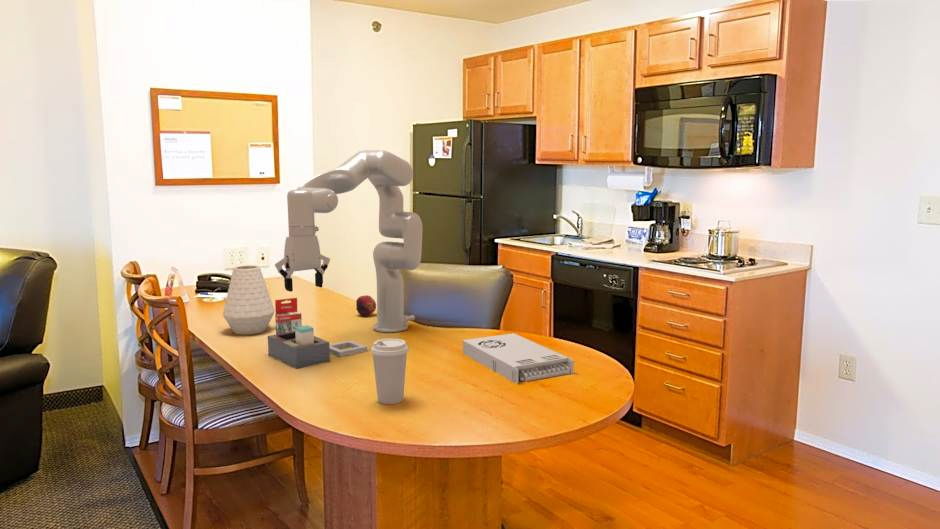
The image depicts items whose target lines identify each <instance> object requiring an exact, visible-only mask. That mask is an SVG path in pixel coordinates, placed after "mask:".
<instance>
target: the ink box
mask: <svg viewBox="0 0 940 529" xmlns="http://www.w3.org/2000/svg"><path fill="white" fill-rule="evenodd" d="M286 301H287V302H286ZM283 302H284V303H283ZM274 304H275V305H274V306H275V308H274V310H275V313H274V317H275V319H274V320H275V335H276V334H281V333H287V332H292V331H295V327H300V326H303V325H302V324H303V323H302V322H303V321H302V312H300V311H298V297H291V298H283V299H275V300H274Z"/></svg>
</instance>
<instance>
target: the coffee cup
mask: <svg viewBox="0 0 940 529" xmlns="http://www.w3.org/2000/svg"><path fill="white" fill-rule="evenodd" d="M372 344H373V345H372V346H371V348H370V353H371V354H372V360H373V369H374V375H375V376H374V377H375V387H376V396H377V398H376V399H377V402H378V403H380V404H383V405H395V404H396V405H397V404H400V403H402V402H403V401H404V394H405V383H406V382H405V381H406V368H407V355H408V353H409V350H410V349H409V347H408V345H407V342H406V341H405V340H404V339H401V338H381V339H378V340H376V341H374V342H373V343H372Z"/></svg>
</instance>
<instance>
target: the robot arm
mask: <svg viewBox="0 0 940 529" xmlns="http://www.w3.org/2000/svg"><path fill="white" fill-rule="evenodd" d="M367 179H368V181H369V182H370V183H371V184H372V185H373V187H374V188H375V190H376V192H377V194H378V199H379V202H378V203H379V205H378V206H379V208H378V209H379V210H378V232H379V233H380V235H381V236H383V237H385V238H392V239H403V242H400V241H382V242H379V243H377V244H376V245H375V247H374V248H373V252H372V258H373V263H374V267H375V274H376V278H375V279H376V310H377V311H376V317H377V322H376V323H375V324H373V326H372V328H373V330H374V331H376V332H378V333H379V332H381V333H399V332H404V331H406V330H408V329H409V324H408V322H409V321H411V322H412V321H415V319H416V316H415V314H410V315H407V314H405V313H404V312H405V310H404V307H405V306H404V304H405V303H404V302H405V301H404V279H403V278H404V277H403V275H402V272H401V271H400V270H402V271H415V270H417V268H418V267H419V266H420V264H421V262H422V261H421V260H422V251H423V250H422V248H423V230H424V228H423V222H422V219H421V217H420V216H419V214H418V213H416V212H414V211H413V212H412V211H405V209H404V202H405V201H404V195H403V192H402V190H401V189H400V187H405V186H408V185H410V183H412V181H413V179H414V170H413V167H412V166H411V163H409V162H408V161H407V160H405V159H403V158H401V157H399V156H397V155H396V154H394V153H391V152H390V151H386V150H383V149H382V150H381V149H380V150H379V149H378V150H376V149H375V150H373V149H371V150H368V149H367V150H365V149H364V150H360V151H358V152H356V153H355V154H354V155H352V156H350V157H349V158H348V159H347V160H346V161H344V162H343V163H341V164H340V165H339V166H338V167H336V168H334V169H331V170H328V171H326V172H323V173H320V174H318V175H316V176H313V177H310V178H309V179H307V180H306V181H305V182H304V181H303V183H302V184H300V185H299V186H298V187H297V188H296V189H291V190H289V191H288V192H287V195H286V199H287V200H286V202H287V222H288V236H286V237H285V241H284V250H283V254H284V255H283V258H282V259H281V260H279V261H277V262H276V263H275V264H274V267H275V268H276V270H277V273H279V274H280V275H281V276H282V278H284V279H283V280H284V282H283V283H284V289H285V291H287V292H291V293H293V291H294V290H293V284H294V283H293V278H292V275H293V274H294V272H300V271H308V270H309V271H310V270H314V272H316V273H314V279H315V280H314V281H315V282H314V284H315V287H319V288H322V287H323V283H324V274H325V271H326V270H327V269H328V266H329V263H330V262H331V258H330V257H328V256H326V255H323V254H321V247H320V242H319V238H318V235H316V232H318V231H319V226H316V223H315V222H316V221H315V220H316V219H315V214H328V213H331V212H333V211H334V210H336V208H337V206H338V203H339V199H338V198H339V197H338V195H341V194H345V193H348V192H351V191H354V189H356V188H357V187H358V186H360V185H361V184H362V183H363V182H365V181H366V180H367ZM322 261H323V263H322ZM283 266H284V268H283ZM284 269H285V270H284Z"/></svg>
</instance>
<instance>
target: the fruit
mask: <svg viewBox="0 0 940 529" xmlns="http://www.w3.org/2000/svg"><path fill="white" fill-rule="evenodd" d="M355 302H356V303H355V304H356V306H355V307H356V308H355V310H356V311H357V313H358V314H359V316H360V315H361V316H362V317H368V316H370V315H372V314H373V313H374V312H375V311H376V310H377V301H376V300H375V299H374V298H373V297H372V296H371V295H368V294H367V295H360V296H358V297H357V298H356V301H355Z"/></svg>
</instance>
